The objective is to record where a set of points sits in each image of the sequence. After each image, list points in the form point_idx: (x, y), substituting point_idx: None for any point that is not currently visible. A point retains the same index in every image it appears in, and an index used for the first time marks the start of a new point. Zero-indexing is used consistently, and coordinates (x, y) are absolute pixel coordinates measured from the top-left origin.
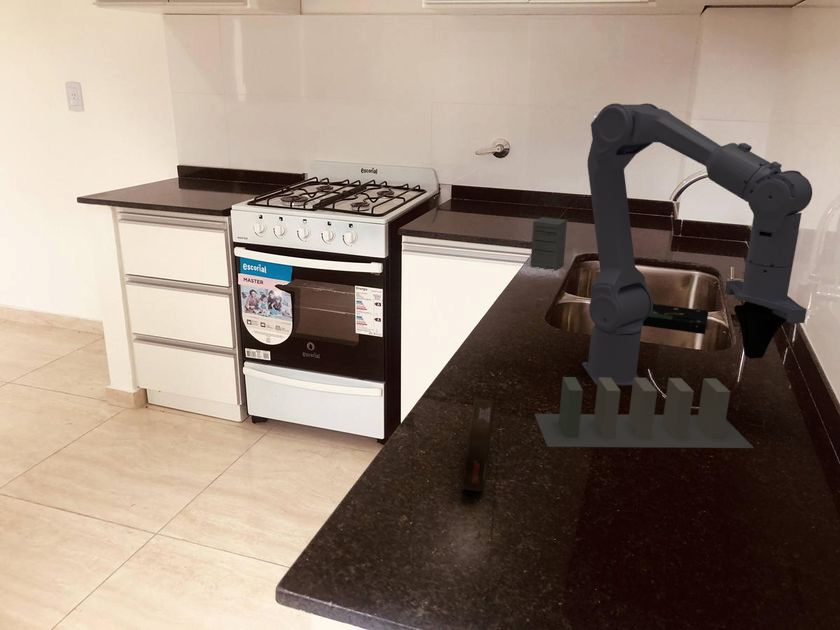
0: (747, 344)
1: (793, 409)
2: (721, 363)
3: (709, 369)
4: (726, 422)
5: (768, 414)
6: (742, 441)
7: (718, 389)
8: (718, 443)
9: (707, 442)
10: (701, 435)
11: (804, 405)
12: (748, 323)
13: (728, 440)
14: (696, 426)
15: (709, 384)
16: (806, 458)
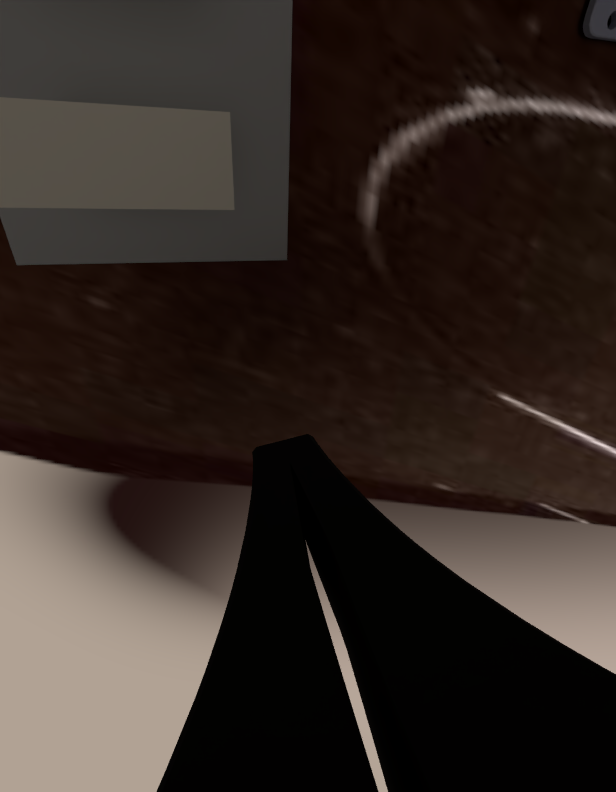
0: (287, 494)
1: None
2: (600, 393)
3: (586, 352)
4: (228, 250)
5: (306, 401)
6: (67, 243)
7: (20, 131)
8: None
9: (5, 66)
10: (80, 71)
11: None
12: (312, 693)
13: None
14: (178, 95)
15: (119, 105)
16: (17, 403)
